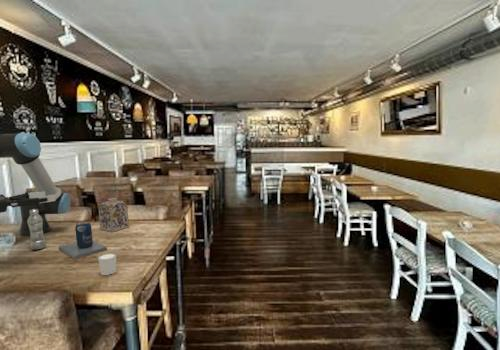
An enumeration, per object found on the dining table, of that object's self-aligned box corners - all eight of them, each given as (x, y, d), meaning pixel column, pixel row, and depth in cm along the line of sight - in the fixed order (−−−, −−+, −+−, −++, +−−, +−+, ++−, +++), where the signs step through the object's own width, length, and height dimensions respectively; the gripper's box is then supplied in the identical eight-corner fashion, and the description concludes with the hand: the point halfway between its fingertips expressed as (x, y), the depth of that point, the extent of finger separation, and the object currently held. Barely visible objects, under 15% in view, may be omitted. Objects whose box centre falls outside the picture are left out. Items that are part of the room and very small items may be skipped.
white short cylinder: (102, 269, 145) (101, 253, 144) (119, 268, 146) (118, 252, 145) (97, 277, 138) (95, 260, 137) (114, 275, 139) (113, 259, 138)
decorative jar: (129, 227, 207) (127, 197, 204) (112, 232, 197) (109, 201, 195) (116, 224, 213) (114, 195, 211) (99, 229, 204) (96, 199, 201)
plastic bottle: (49, 247, 175) (44, 208, 173) (37, 252, 169) (32, 211, 166) (39, 246, 178) (35, 207, 175) (27, 250, 171) (22, 211, 168)
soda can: (86, 249, 166) (84, 225, 164) (74, 248, 167) (71, 224, 166) (96, 244, 173) (93, 221, 171) (83, 244, 174) (81, 220, 172)
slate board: (59, 249, 172) (58, 246, 172) (90, 241, 183) (89, 238, 182) (74, 259, 158) (74, 256, 158) (107, 250, 169) (106, 247, 169)
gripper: (-12, 209, 154) (41, 200, 169) (2, 218, 137) (60, 207, 152) (-14, 192, 153) (40, 185, 168) (-1, 199, 136) (58, 190, 151)
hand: (49, 196), depth 160 cm, fingers open, 13 cm apart
